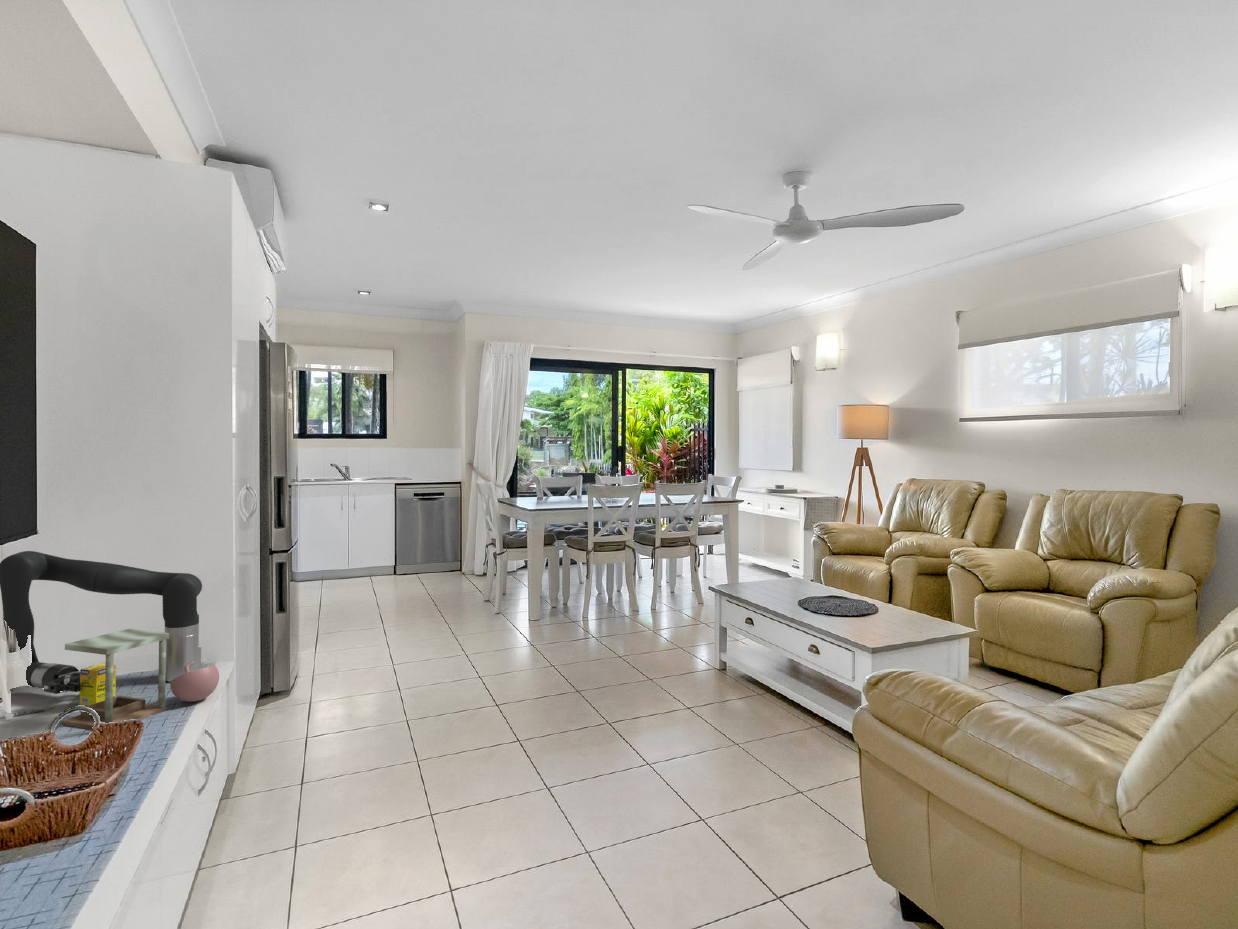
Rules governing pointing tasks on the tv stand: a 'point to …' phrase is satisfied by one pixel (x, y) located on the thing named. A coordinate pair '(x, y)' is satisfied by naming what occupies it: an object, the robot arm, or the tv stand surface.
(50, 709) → the tv stand surface
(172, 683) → the mortar and pestle
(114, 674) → the supplement box
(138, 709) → the small green table
